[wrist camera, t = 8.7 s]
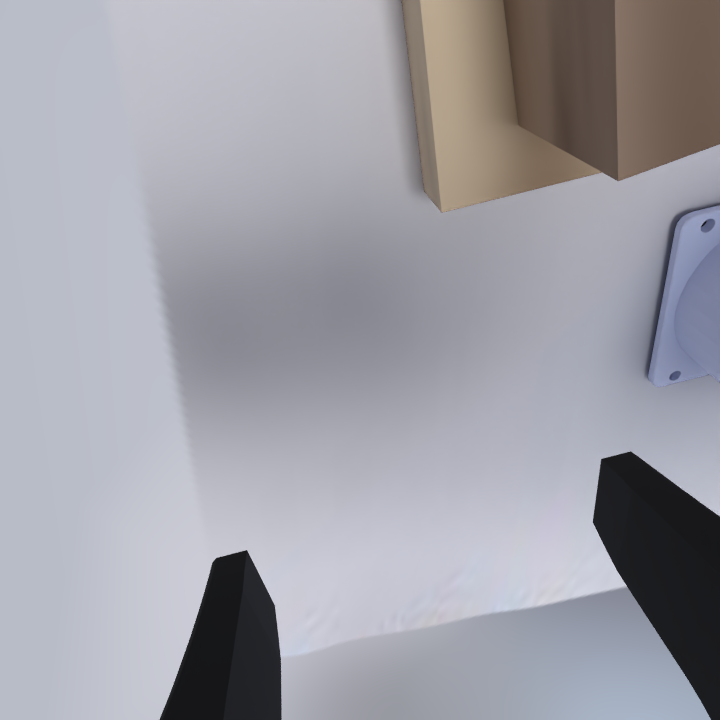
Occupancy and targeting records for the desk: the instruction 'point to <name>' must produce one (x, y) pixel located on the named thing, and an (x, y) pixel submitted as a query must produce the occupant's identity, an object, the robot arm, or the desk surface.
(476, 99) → the oak slab
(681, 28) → the walnut block
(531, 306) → the desk surface
